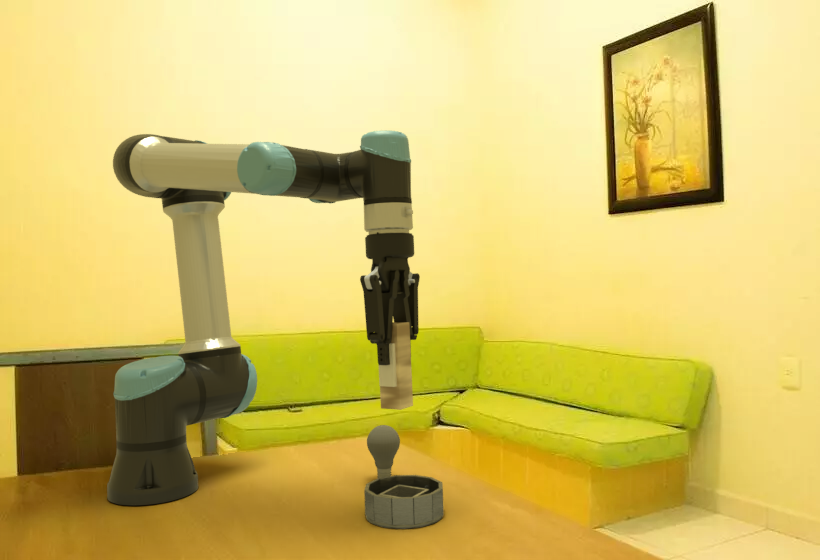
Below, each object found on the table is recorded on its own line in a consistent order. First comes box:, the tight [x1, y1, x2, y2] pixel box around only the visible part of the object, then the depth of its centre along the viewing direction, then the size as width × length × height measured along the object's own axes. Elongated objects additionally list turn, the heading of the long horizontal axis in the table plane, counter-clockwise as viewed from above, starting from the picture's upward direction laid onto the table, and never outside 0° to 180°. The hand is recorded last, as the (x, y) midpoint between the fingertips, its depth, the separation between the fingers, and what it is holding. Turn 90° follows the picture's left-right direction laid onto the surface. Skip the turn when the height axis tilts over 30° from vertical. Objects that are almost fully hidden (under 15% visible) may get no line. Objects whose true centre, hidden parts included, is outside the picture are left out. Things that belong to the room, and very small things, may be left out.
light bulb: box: [366, 424, 401, 479], centre depth 130 cm, size 6×6×10 cm
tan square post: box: [379, 321, 414, 411], centre depth 111 cm, size 4×4×13 cm
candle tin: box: [363, 474, 444, 530], centre depth 111 cm, size 12×12×4 cm
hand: (395, 383), depth 111 cm, fingers closed on tan square post, 4 cm apart
